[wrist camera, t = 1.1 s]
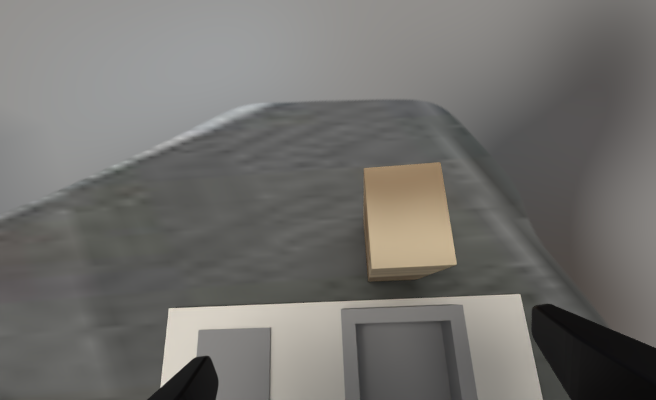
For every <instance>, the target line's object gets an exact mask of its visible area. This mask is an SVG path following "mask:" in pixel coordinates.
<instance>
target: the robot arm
mask: <svg viewBox="0 0 656 400" xmlns="http://www.w3.org/2000/svg"><path fill="white" fill-rule="evenodd" d="M532 335H533V338H534V340H535V342H536V343H537V345H538V347H539V348H540V350H541V352H542V353H543V355H544V357H545V358H546V360H547V361H548V363H549V365H550V366H551V368H552V370H553V371H554V373H555V375H556V376H557V378H558V379H559V381H560V383H561V384H562V386H563V388H564V389H565V391H566V392H567V394H568V395H569V397H570V398H571V400H656V348H654V347H652V346H649V345H647V344H645V343H642V342H640V341H638V340H635V339H633V338H630V337H628V336H625V335H623V334H621V333H619V332H616V331H614V330H611V329H609V328H607V327H604V326H602V325H599V324H597V323H595V322H592V321H590V320H587V319H585V318H583V317H580V316H578V315H575V314H573V313H571V312H568V311H566V310H564V309H561V308H559V307H556V306H554V305H551V304H542V305H536V306H534V307H533V308H532ZM218 386H219V380H218V375H217V373H216V370H215V367H214V365H213V362H212V359H211V358H210V356H200V357H195V358H193V359H192V360H191V361H190V362H189V363H188V364H187V365H185V366H184V367H183V368H182V369H181V370H180V371H179V372H178V373H176V374H175V375H174V376H173V377H172V378H171V379H170V380H169V381H168V382H166V383H165V384H164V385H163V386H162V387H161V388H160V389H159V390H158V391H156V392H155V393H154V394H153V395H152V396H151V397H150V398H149V399H147V400H216V396H217V391H218Z"/></svg>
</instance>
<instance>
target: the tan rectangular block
mask: <svg viewBox="0 0 656 400" xmlns="http://www.w3.org/2000/svg"><path fill="white" fill-rule="evenodd" d="M364 234H365V247H366V260H367V273H368V282H373V281H395V280H417V279H419V278H422V277H425V276H428V275H430V274H433V273H436V272H438V271H441V270H444V269H446V268H449V267H452V266H455V265H457V262H456V256H455V250H454V244H453V237H452V231H451V225H450V219H449V213H448V206H447V200H446V194H445V188H444V182H443V175H442V169H441V163H440V162H438V163H426V164H413V165H400V166H387V167H374V168H364Z"/></svg>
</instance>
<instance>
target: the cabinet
mask: <svg viewBox="0 0 656 400" xmlns="http://www.w3.org/2000/svg"><path fill="white" fill-rule="evenodd" d="M200 356H210V358H211V359H212V362H213V365H214V367H215V370H216V373H217V375H218V380H219V386H218V391H217V396H216V400H543V398H542V393H541V388H540V384H539V379H538V374H537V370H536V365H535V360H534V356H533V351H532V347H531V342H530V337H529V333H528V328H527V323H526V319H525V314H524V309H523V305H522V300H521V295H520V294H509V295H484V296H460V297H436V298H411V299H387V300H362V301H338V302H313V303H289V304H264V305H240V306H215V307H191V308H169V313H168V322H167V332H166V341H165V350H164V360H163V369H162V378H161V387H162V386H163V385H164V384H165V383H166V382H168V381H169V380H170V379H171V378H172V377H173V376H174V375H175V374H176V373H178V372H179V371H180V370H181V369H182V368H183V367H184V366H185V365H187V364H188V363H189V362H190V361H191V360H192V359H193V358H195V357H200ZM161 387H160V388H161Z"/></svg>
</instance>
